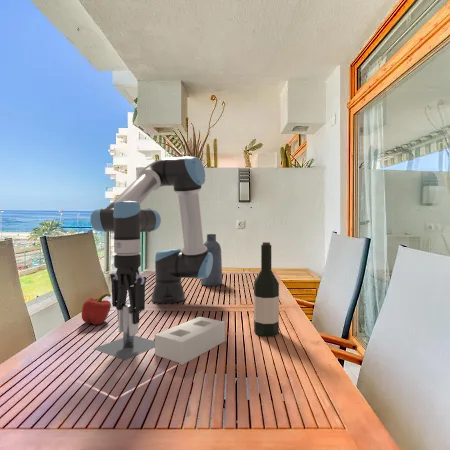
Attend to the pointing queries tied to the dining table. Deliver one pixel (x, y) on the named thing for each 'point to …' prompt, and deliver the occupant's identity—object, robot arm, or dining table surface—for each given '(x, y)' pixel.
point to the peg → (127, 328)
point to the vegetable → (96, 310)
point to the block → (189, 339)
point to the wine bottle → (266, 297)
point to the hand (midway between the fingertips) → (128, 332)
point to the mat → (126, 353)
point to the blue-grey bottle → (214, 262)
